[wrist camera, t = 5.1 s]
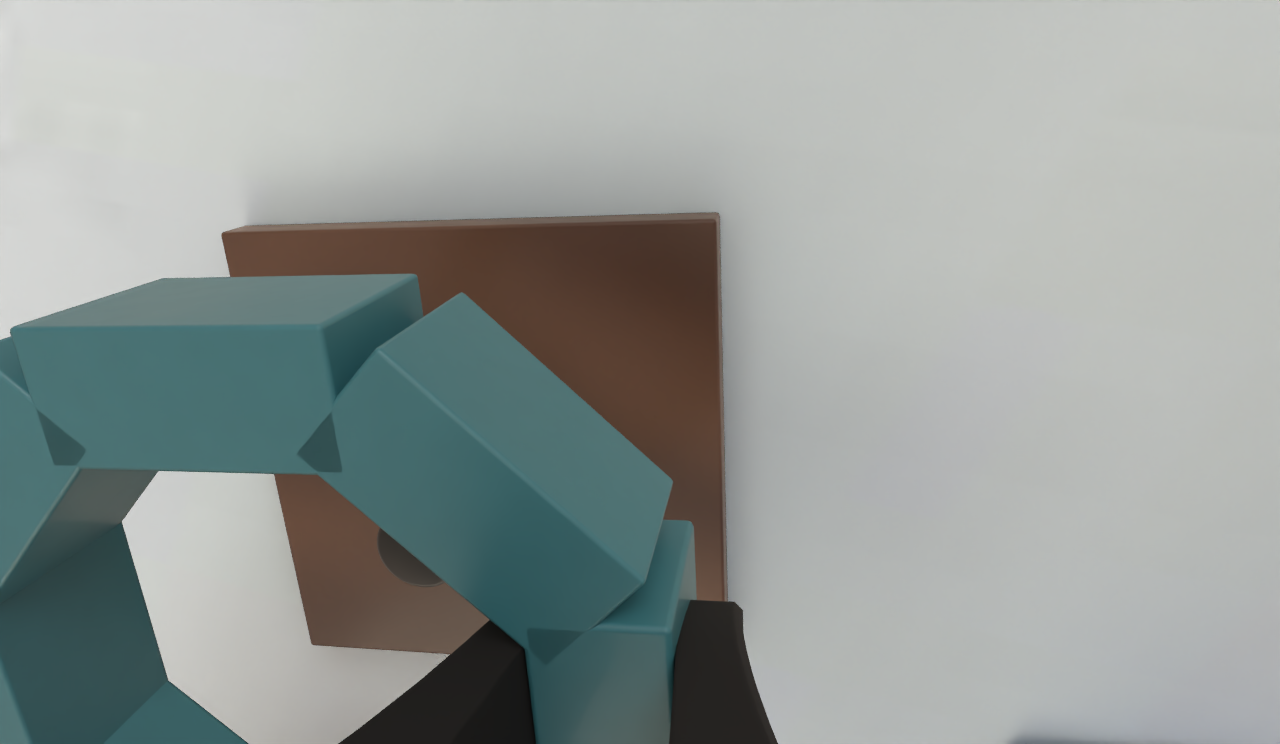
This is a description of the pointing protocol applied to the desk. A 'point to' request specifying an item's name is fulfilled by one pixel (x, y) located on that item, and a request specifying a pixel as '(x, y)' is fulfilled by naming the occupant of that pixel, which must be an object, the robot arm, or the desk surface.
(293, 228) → the peg stand
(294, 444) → the hoop
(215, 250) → the desk surface
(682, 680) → the robot arm
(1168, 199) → the desk surface
